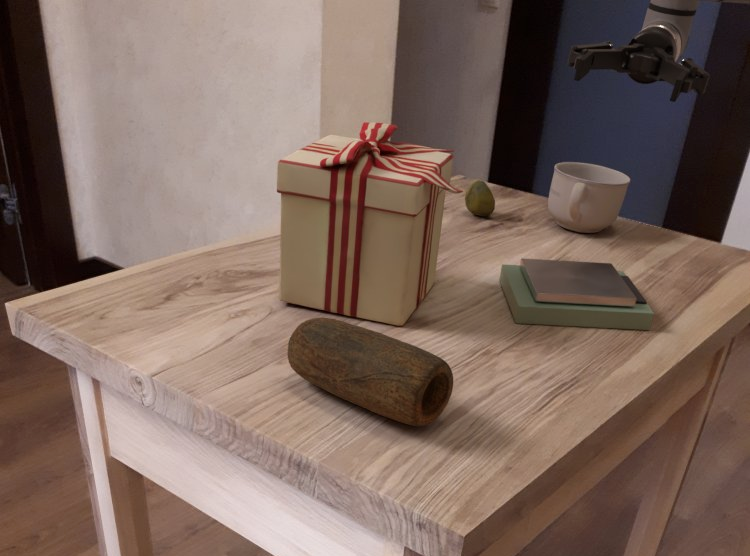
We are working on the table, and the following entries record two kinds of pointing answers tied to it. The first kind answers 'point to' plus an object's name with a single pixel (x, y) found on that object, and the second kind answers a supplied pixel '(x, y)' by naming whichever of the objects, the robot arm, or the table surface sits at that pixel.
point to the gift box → (362, 223)
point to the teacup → (586, 196)
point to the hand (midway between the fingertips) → (626, 80)
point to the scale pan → (576, 282)
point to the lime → (480, 199)
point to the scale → (571, 307)
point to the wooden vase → (371, 370)
